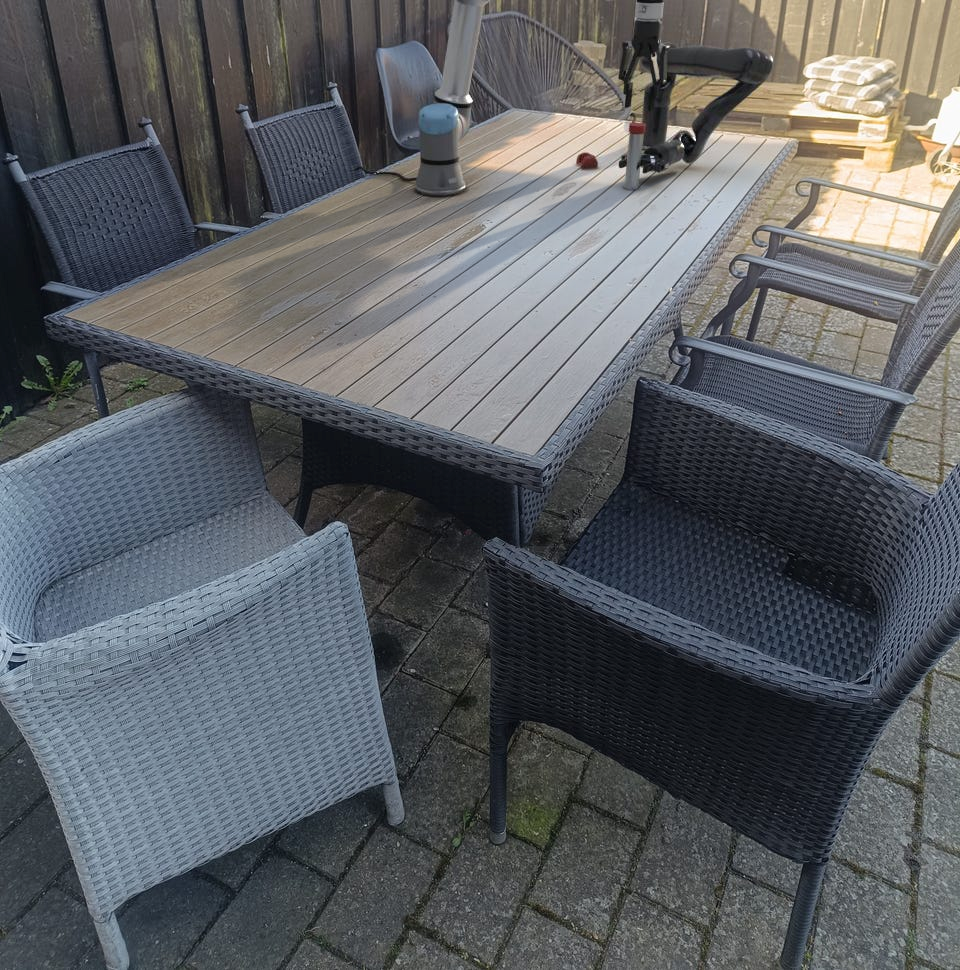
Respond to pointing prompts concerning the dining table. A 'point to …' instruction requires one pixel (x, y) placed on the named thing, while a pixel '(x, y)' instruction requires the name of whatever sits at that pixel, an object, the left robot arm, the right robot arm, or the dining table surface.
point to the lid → (637, 128)
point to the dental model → (587, 160)
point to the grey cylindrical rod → (633, 161)
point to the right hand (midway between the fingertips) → (631, 167)
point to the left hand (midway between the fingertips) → (639, 108)
